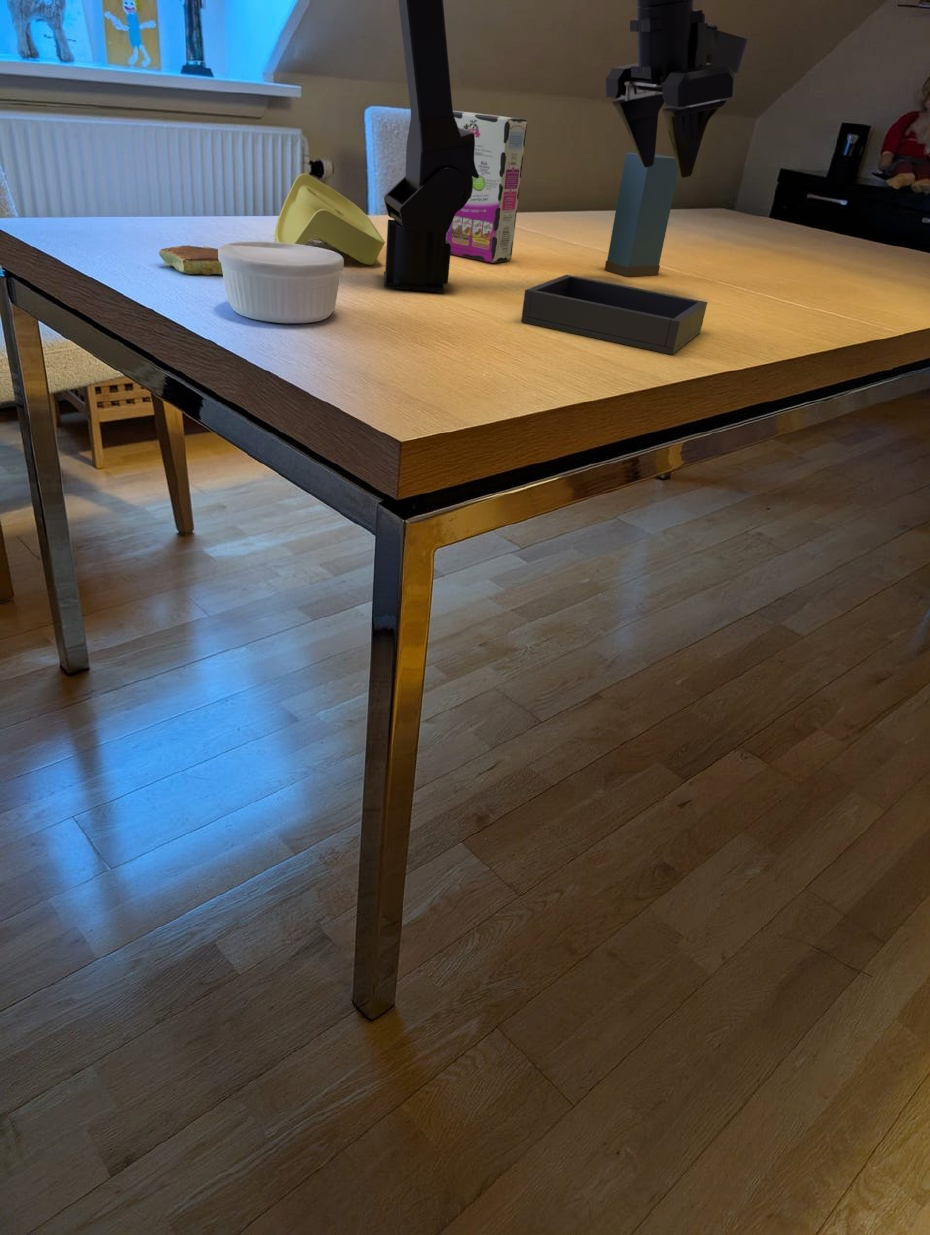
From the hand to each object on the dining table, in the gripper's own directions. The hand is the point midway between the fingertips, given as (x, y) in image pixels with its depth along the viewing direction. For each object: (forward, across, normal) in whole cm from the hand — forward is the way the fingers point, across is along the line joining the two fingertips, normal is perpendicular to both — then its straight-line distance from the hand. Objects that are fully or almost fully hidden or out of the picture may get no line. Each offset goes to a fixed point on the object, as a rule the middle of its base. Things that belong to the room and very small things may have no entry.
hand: (666, 171), depth 98 cm
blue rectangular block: (+14, +14, -2) cm, 20 cm away
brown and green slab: (+1, +4, +51) cm, 51 cm away
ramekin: (+2, -14, +46) cm, 48 cm away
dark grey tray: (+10, -16, +14) cm, 23 cm away
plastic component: (+4, +18, +37) cm, 41 cm away
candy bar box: (+9, +20, +19) cm, 29 cm away
